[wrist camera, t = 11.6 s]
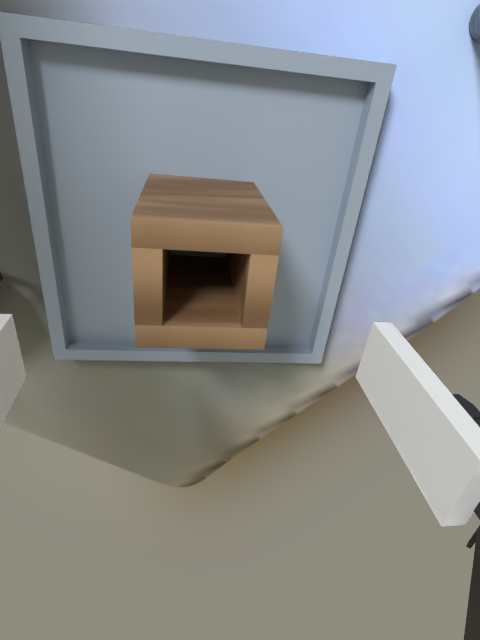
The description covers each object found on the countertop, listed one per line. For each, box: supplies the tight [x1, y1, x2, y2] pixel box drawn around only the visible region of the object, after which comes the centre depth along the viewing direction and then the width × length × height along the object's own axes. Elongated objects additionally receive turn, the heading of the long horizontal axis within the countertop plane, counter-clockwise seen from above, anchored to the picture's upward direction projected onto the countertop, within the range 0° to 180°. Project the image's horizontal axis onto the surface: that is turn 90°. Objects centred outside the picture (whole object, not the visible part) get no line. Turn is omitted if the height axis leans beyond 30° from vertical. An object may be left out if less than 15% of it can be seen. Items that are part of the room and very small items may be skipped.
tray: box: [0, 12, 396, 364], centre depth 28 cm, size 22×22×2 cm
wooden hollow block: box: [130, 174, 283, 350], centre depth 25 cm, size 9×7×10 cm
